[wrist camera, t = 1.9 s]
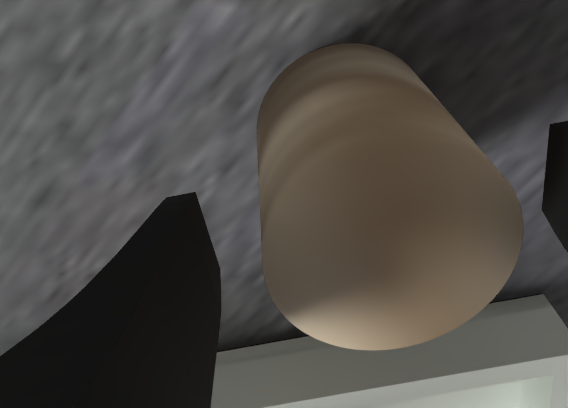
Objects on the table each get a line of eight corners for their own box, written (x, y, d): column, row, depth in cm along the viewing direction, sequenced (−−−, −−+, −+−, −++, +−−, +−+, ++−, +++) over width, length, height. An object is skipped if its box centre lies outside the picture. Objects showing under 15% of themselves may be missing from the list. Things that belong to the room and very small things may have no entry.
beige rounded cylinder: (274, 217, 15) (287, 368, 11) (238, 63, 13) (235, 171, 8) (432, 187, 15) (516, 327, 10) (426, 25, 13) (531, 113, 8)
